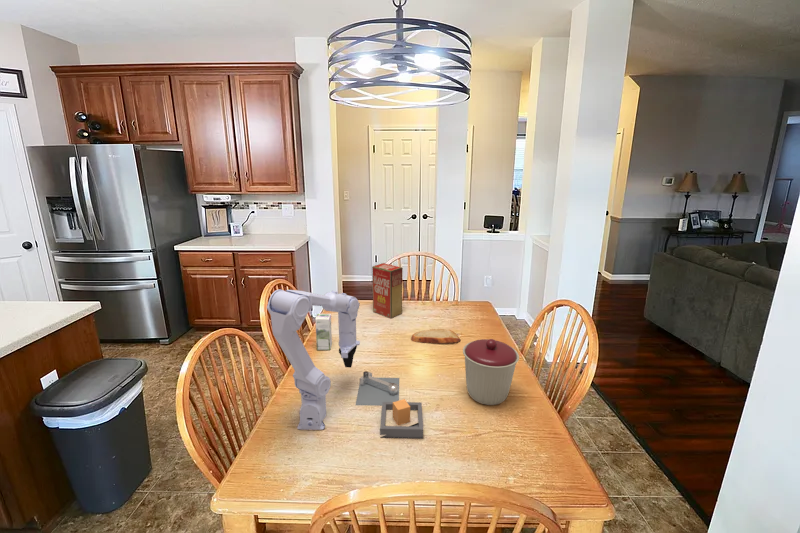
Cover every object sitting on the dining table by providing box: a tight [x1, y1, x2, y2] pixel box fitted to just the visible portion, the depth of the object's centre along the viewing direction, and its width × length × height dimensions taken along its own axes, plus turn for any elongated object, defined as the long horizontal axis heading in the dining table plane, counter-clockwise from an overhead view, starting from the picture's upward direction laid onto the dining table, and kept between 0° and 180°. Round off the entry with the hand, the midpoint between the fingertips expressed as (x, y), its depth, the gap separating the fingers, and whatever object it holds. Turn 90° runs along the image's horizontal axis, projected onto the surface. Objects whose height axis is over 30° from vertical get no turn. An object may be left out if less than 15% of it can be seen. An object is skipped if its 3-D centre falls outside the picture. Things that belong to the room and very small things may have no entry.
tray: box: [379, 401, 424, 440], centre depth 115 cm, size 12×12×3 cm
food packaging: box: [371, 262, 403, 319], centre depth 194 cm, size 13×9×25 cm
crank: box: [359, 371, 398, 395], centre depth 131 cm, size 14×5×4 cm, turn 58°
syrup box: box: [314, 313, 333, 351], centre depth 159 cm, size 6×6×14 cm
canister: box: [462, 338, 520, 406], centre depth 127 cm, size 18×18×21 cm
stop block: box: [392, 398, 411, 426], centre depth 115 cm, size 4×4×6 cm
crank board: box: [355, 377, 400, 407], centre depth 130 cm, size 16×14×2 cm
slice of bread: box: [410, 328, 461, 345], centre depth 169 cm, size 18×18×4 cm
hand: (348, 366), depth 129 cm, fingers closed
